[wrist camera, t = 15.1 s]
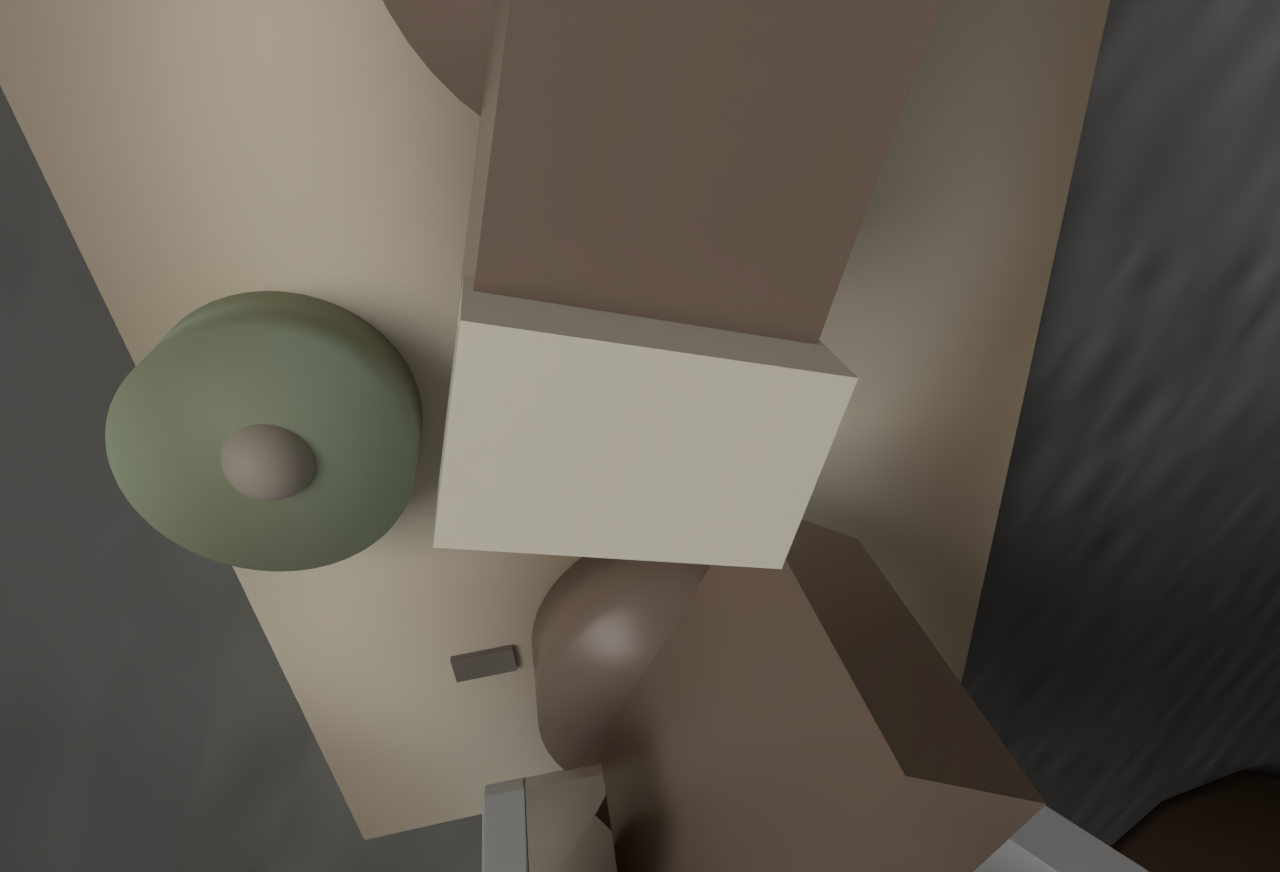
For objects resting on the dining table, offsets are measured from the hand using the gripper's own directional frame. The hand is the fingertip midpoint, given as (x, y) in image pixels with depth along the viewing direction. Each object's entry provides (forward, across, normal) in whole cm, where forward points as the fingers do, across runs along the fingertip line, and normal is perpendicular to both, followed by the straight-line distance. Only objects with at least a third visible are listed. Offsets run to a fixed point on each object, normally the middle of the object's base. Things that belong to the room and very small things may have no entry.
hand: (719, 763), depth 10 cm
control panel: (+5, 0, -5) cm, 7 cm away
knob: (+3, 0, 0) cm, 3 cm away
